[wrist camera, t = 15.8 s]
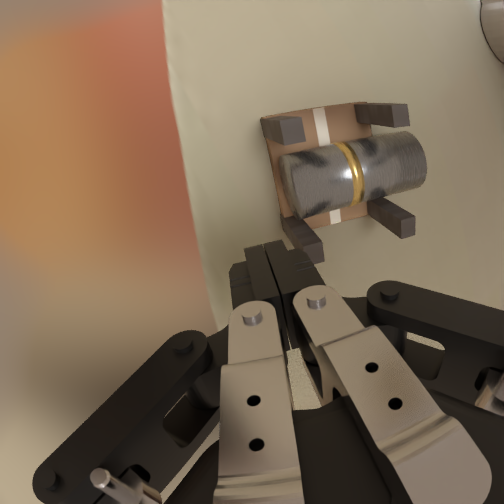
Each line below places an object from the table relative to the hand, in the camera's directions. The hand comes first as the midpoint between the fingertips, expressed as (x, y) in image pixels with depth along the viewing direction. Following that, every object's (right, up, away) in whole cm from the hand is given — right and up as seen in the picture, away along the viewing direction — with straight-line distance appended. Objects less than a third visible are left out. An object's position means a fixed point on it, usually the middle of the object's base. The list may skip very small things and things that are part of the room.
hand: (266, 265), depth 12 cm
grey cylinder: (+7, +8, +13) cm, 17 cm away
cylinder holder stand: (+6, +8, +14) cm, 17 cm away
